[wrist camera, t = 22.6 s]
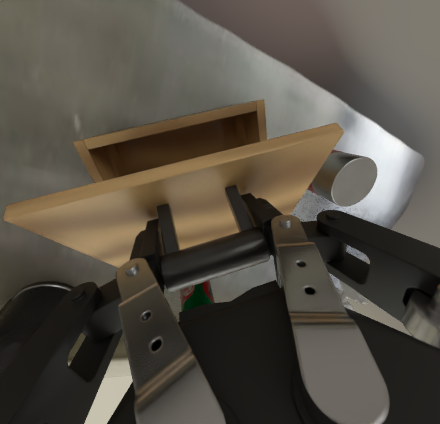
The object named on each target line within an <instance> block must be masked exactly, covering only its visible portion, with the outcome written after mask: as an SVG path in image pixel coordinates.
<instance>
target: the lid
mask: <svg viewBox="0 0 440 424" xmlns="http://www.w3.org/2000/svg"><path fill="white" fill-rule="evenodd" d="M343 133H344V131H343V130H342V128H341V127H340V126H339V125H338V124H337V123H333V124H329V125H325V126H321V127H317V128H313V129H309V130H305V131H301V132H297V133H293V134H289V135H285V136H281V137H277V138H273V139H269V140H265V141H261V142H257V143H253V144H249V145H245V146H241V147H237V148H233V149H229V150H225V151H221V152H217V153H213V154H209V155H205V156H201V157H197V158H193V159H189V160H185V161H181V162H177V163H173V164H169V165H165V166H161V167H157V168H153V169H149V170H145V171H141V172H137V173H133V174H129V175H125V176H121V177H117V178H113V179H109V180H105V181H101V182H97V183H93V184H89V185H85V186H81V187H77V188H73V189H69V190H65V191H61V192H57V193H53V194H49V195H45V196H41V197H37V198H33V199H29V200H25V201H21V202H17V203H13V204H9V205H7V206H6V210H5V214H4V218H3V219H4V220H5V221H7V222H10V223H12V224H15V225H17V226H19V227H22V228H24V229H27V230H29V231H31V232H34V233H36V234H39V235H41V236H43V237H46V238H48V239H51V240H53V241H55V242H58V243H60V244H63V245H65V246H67V247H70V248H72V249H75V250H77V251H79V252H82V253H84V254H87V255H89V256H91V257H94V258H96V259H99V260H101V261H103V262H106V263H108V264H111V265H113V266H115V267H118V268H120V267H121V266H122V265H123V264H125V263H126V262H128V261H129V259H130V256H131V252H132V249H133V245H134V242H135V238H136V236H137V235H138V234H139V233H140V231H143V230H145V229H146V224H147V221H150V220H153V219H157V218H158V219H159V224H160V230H161V236H162V241H163V247H164V253H165V255H162V256H161V261H160V265H161V272H162V277H163V280H164V283H165V286H166V288H167V290H168V291H169V292H175V291H178V290H181V289H184V288H187V287H190V286H193V285H196V284H199V283H202V282H205V281H208V280H211V279H214V278H217V277H220V276H224V275H227V274H230V273H233V272H236V271H239V270H242V269H245V268H248V267H251V266H254V265H257V264H260V263H263V262H266V261H268V260H269V259H270V252H269V247H268V244H267V241H266V238H265V236H264V234H263V233H262V231H261V230H260V229H259V228H258V227H254V226H253V224H252V221H251V219H250V217H249V214H248V212H247V210H246V207H245V205H244V203H243V200H242V198H241V196H240V195H244V194H247V193H251V194H252V195H253V196H254V197H255V198H256V199H257V198H262V199H265V200H267V201H268V202H269V203H270V204H272V205H273V206H274V207H275V208H276V209H277V210H279V211H280V212H281V213H282V214H283V215H290V214H291V213H292V211H293V210H294V208H295V207H296V205H297V204H298V202H299V201H300V199H301V197H302V196H303V194H304V193H305V191H306V190H307V188H308V187H309V185H310V184H311V182H312V181H313V179H314V178H315V176H316V175H317V173H318V171H319V170H320V168H321V167H322V165H323V164H324V162H325V161H326V159H327V158H328V156H329V155H330V153H331V152H332V150H333V149H334V147H335V146H336V144H337V142H338V141H339V139H340V138H341V136H342V135H343Z"/></svg>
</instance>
